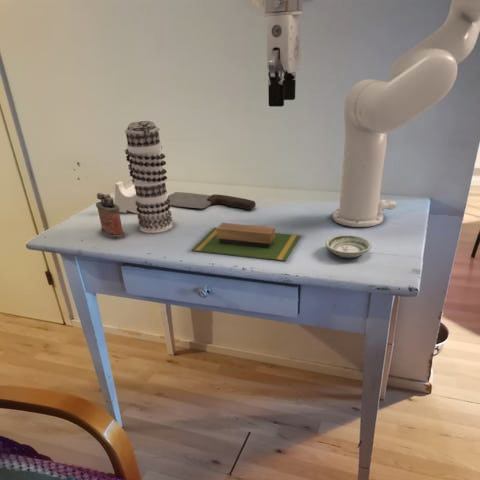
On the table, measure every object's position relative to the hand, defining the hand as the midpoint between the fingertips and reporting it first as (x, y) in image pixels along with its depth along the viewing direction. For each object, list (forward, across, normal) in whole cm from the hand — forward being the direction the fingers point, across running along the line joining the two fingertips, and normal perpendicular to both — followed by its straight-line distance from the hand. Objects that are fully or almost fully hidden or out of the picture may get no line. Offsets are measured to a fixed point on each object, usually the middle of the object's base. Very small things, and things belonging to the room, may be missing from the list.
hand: (282, 102), depth 98 cm
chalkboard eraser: (+28, -12, +5) cm, 31 cm away
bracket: (+28, +6, +45) cm, 53 cm away
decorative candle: (+28, -7, +32) cm, 43 cm away
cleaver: (+28, +12, +25) cm, 40 cm away
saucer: (+28, -12, -18) cm, 36 cm away
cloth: (+28, -12, +5) cm, 31 cm away
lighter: (+28, -14, +40) cm, 51 cm away
